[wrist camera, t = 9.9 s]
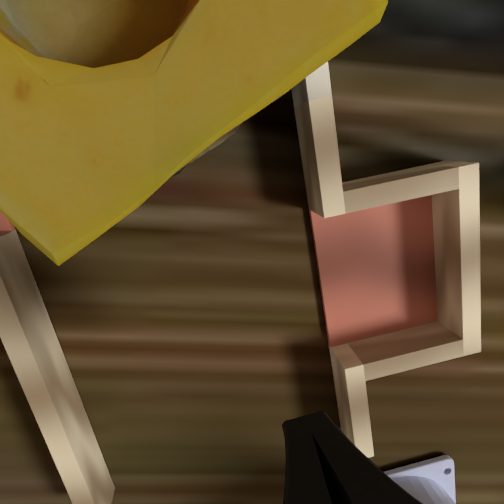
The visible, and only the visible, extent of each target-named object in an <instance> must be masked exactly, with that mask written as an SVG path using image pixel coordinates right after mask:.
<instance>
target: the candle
mask: <svg viewBox="0 0 504 504" xmlns="http://www.w3.org/2000/svg"><path fill="white" fill-rule="evenodd" d="M387 3H388V0H0V211H1V212H2V213H3V214H4V215H5V217H6V218H7V219H8V220H9V221H10V222H11V223H12V224H13V225H14V226H15V227H16V228H17V229H18V230H19V232H20V233H21V234H22V235H23V236H24V237H26V238H27V239H28V240H29V241H30V242H31V243H32V244H34V245H35V246H36V247H37V248H38V249H39V250H40V251H42V252H43V253H44V254H45V255H46V256H47V257H48V258H50V259H51V260H52V261H53V262H54V263H55V264H56V265H58V266H59V265H61V264H62V263H63V262H65V261H66V260H68V259H69V258H70V257H72V256H73V255H74V254H76V253H77V252H78V251H80V250H81V249H82V248H84V247H85V246H86V245H88V244H89V243H91V242H92V241H93V240H95V239H96V238H97V237H99V236H100V235H101V234H103V233H104V232H105V231H107V230H108V229H109V228H111V227H112V226H113V225H115V224H116V223H117V222H119V221H120V220H121V219H123V218H124V217H126V216H127V215H128V214H130V213H131V212H132V211H134V210H135V209H136V208H138V207H139V206H140V205H141V204H142V203H143V202H144V201H145V200H147V199H148V198H149V197H150V196H151V195H152V194H153V193H154V192H155V191H156V190H157V189H158V188H159V187H160V186H161V185H163V184H164V183H165V182H166V181H167V180H168V179H169V178H171V177H173V176H175V175H177V174H179V173H180V172H181V171H182V170H183V169H184V168H185V166H186V165H188V164H190V163H192V162H194V161H195V160H197V159H198V158H200V157H201V156H203V155H204V154H206V153H207V152H209V151H210V150H212V149H213V148H215V147H216V146H218V145H219V144H221V143H222V142H224V141H225V140H227V139H228V138H230V137H231V136H233V135H234V134H236V133H237V132H238V129H239V127H240V124H241V123H242V122H244V121H245V120H247V119H248V118H250V117H251V116H253V115H254V114H256V113H257V112H259V111H260V110H262V109H263V108H265V107H266V106H268V105H269V104H270V103H272V102H273V101H275V100H276V99H278V98H279V97H281V96H282V95H283V94H285V93H286V92H288V91H289V90H290V89H292V88H293V87H294V86H296V85H297V84H298V83H299V82H301V81H302V80H303V79H304V78H306V77H307V76H308V75H310V74H311V73H312V72H314V71H315V70H316V69H318V68H319V67H321V66H322V65H323V64H325V63H326V62H327V61H329V60H330V59H332V58H333V57H334V56H336V55H337V54H338V53H340V52H341V51H343V50H344V49H345V48H347V47H348V46H349V45H351V44H352V43H353V42H355V41H356V40H357V39H359V38H360V37H361V36H362V35H364V34H365V33H366V32H368V31H369V30H370V29H371V28H373V27H374V26H375V25H377V24H378V23H379V22H380V20H381V18H382V15H383V13H384V10H385V8H386V6H387Z"/></svg>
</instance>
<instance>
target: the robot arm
mask: <svg viewBox="0 0 504 504" xmlns="http://www.w3.org/2000/svg"><path fill="white" fill-rule="evenodd" d="M282 427H283V432H284V437H285V449H286V469H285V489H284V499H283V504H456V500H455V474H454V461H453V460H452V458H451V457H450V456H448V455H443V456H439V457H435V458H432V459H428V460H424V461H421V462H417V463H414V464H410V465H406V466H403V467H399V468H395V469H392V470H388V471H385V472H383V471H382V470H380V469H379V468H378V467H377V466H376V465H375V464H374V463H373V462H372V461H371V460H370V459H369V458H367V457H366V456H365V455H364V454H363V453H362V452H361V451H360V450H359V449H358V448H357V447H356V446H355V445H354V444H353V443H352V442H351V441H350V440H349V439H348V438H347V437H346V435H345V434H344V433H343V432H342V431H341V430H340V429H339V428H338V427H337V425H336V424H335V423H334V422H333V421H332V420H331V418H330V417H329V416H328V414H327V413H325V412H324V411H321V412H317V413H313V414H309V415H306V416H302V417H298V418H295V419H291V420H287V421H285V422H284V423H283V424H282Z"/></svg>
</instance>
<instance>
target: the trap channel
mask: <svg viewBox="0 0 504 504" xmlns="http://www.w3.org/2000/svg"><path fill="white" fill-rule="evenodd" d="M291 90H292V97H293V104H294V111H295V118H296V124H297V131H298V138H299V145H300V152H301V159H302V166H303V172H304V179H305V186H306V193H307V200H308V207H309V213H310V220H311V227H312V234H313V241H314V248H315V255H316V261H317V268H318V275H319V282H320V289H321V296H322V302H323V309H324V316H325V323H326V330H327V337H328V344H329V350H330V357H331V364H332V371H333V378H334V385H335V391H336V398H337V405H338V412H339V419H340V426H341V430H342V432H343V433H344V434H345V435H346V437H347V438H348V439H349V440H350V441H351V442H352V443H353V444H354V445H355V446H356V447H357V448H358V449H359V450H360V451H361V452H362V453H363V454H364V455H365V456H366V457H367V458H369V457H373V456H374V451H373V442H372V434H371V425H370V417H369V408H368V400H367V391H366V383H365V381H367V380H371V379H375V378H379V377H383V376H387V375H391V374H395V373H399V372H403V371H407V370H411V369H415V368H418V367H422V366H426V365H430V364H434V363H438V362H442V361H446V360H450V359H454V358H458V357H462V356H466V355H469V354H473V353H477V352H481V302H480V211H479V163H475V162H457V161H441V162H437V163H432V164H427V165H422V166H418V167H413V168H408V169H404V170H399V171H394V172H389V173H385V174H380V175H375V176H370V177H366V178H361V179H356V180H352V181H347V182H342V178H341V170H340V161H339V153H338V144H337V136H336V127H335V119H334V110H333V102H332V93H331V85H330V76H329V67H328V61H327V62H326V63H325V64H323V65H322V66H321V67H319V68H318V69H316V70H315V71H314V72H312V73H311V74H310V75H308V76H307V77H306V78H304V79H303V80H302V81H301V82H299V83H298V84H297V85H296V86H294V87H293V88H292V89H291ZM0 338H1V340H2V343H3V345H4V347H5V349H6V352H7V354H8V356H9V359H10V361H11V363H12V366H13V368H14V370H15V372H16V375H17V377H18V379H19V382H20V384H21V386H22V389H23V391H24V393H25V395H26V398H27V400H28V402H29V405H30V407H31V409H32V412H33V414H34V416H35V419H36V421H37V423H38V425H39V428H40V430H41V432H42V435H43V437H44V439H45V442H46V444H47V446H48V448H49V451H50V453H51V455H52V458H53V460H54V462H55V465H56V467H57V469H58V471H59V474H60V476H61V478H62V481H63V483H64V485H65V488H66V490H67V492H68V494H69V497H70V499H71V501H72V504H111V502H112V498H113V494H114V490H115V487H114V484H113V482H112V479H111V477H110V474H109V471H108V469H107V466H106V464H105V461H104V458H103V456H102V453H101V451H100V448H99V445H98V443H97V440H96V438H95V435H94V432H93V430H92V427H91V425H90V422H89V419H88V417H87V414H86V412H85V409H84V406H83V404H82V401H81V399H80V396H79V393H78V391H77V388H76V386H75V383H74V380H73V378H72V375H71V373H70V370H69V367H68V365H67V362H66V360H65V357H64V354H63V352H62V349H61V347H60V344H59V341H58V339H57V336H56V334H55V331H54V328H53V326H52V323H51V321H50V318H49V315H48V313H47V310H46V308H45V305H44V302H43V300H42V297H41V294H40V292H39V289H38V287H37V284H36V281H35V279H34V276H33V274H32V271H31V268H30V266H29V263H28V261H27V258H26V255H25V253H24V250H23V248H22V245H21V242H20V240H19V237H18V235H17V232H16V229H15V227H14V225H13V224H12V223H11V222H10V221H9V220H8V219H7V218H6V217H5V215H4V214H3V213H2V212H1V211H0Z"/></svg>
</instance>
